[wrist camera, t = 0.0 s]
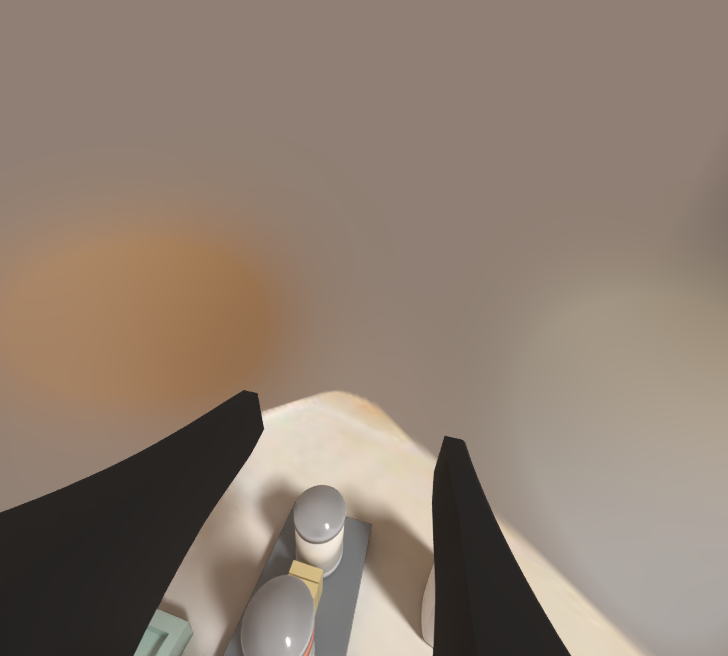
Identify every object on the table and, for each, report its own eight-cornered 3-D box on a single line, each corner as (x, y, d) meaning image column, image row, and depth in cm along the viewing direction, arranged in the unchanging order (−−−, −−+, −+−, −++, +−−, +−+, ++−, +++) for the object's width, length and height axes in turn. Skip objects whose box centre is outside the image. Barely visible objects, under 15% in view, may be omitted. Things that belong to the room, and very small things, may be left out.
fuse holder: (250, 1145, 9) (235, 1196, 8) (68, 1005, 11) (21, 1021, 9) (370, 531, 27) (374, 504, 25) (295, 509, 29) (294, 482, 27)
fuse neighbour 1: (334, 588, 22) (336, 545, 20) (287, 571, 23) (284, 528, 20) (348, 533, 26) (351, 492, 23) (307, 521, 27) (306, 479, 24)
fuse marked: (298, 722, 16) (295, 686, 14) (237, 695, 17) (224, 656, 15) (323, 628, 20) (324, 586, 17) (272, 609, 21) (266, 566, 18)
